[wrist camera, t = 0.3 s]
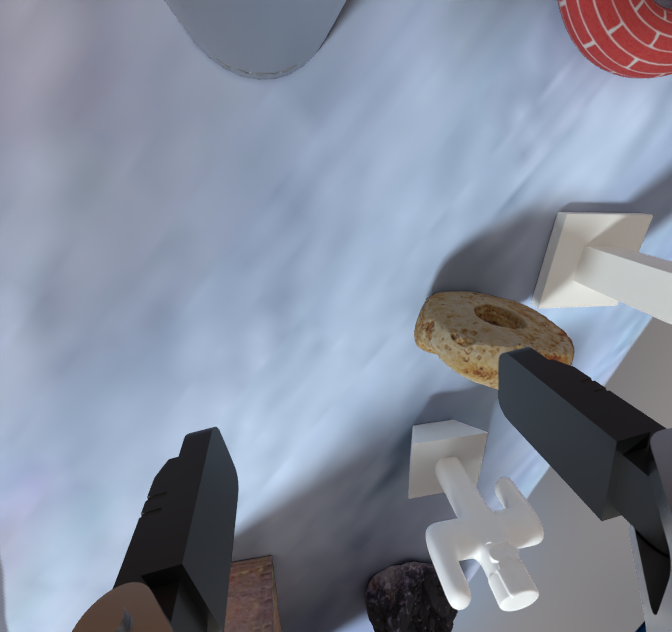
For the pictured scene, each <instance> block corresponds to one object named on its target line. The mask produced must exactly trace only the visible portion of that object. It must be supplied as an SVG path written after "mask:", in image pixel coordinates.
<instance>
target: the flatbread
mask: <svg viewBox="0 0 672 632" xmlns="http://www.w3.org/2000/svg"><path fill="white" fill-rule="evenodd" d="M414 337H415V343H416V345H417V346H418V347H419V348H421V349H423V350H424V351H426V352H429V353H433V354H437V355H438V356H439V358H440V359H441V360H442V361H444V362H445V363H446V365H447V366H449V367H450V368H451V369H453V370H454V371H455V372H457V373H458V374H460V375H462V376H464V377H465V378H467V379H469V380H471V381H473V382H476V383H479V384H482V385H485V386H488V387H491V388H494V389H497V390H498V361H499V356H500V355H501V354H502V353H505V352H509V351H513V350H517V349H521V348H524V347H531V348H533V349H534V350H536V351H537V352H538V353H540V354H541V355H543V356H544V357H546V358H547V359H548V360H551V359H554V360H557V361H559V362H562V363H565V364H567V365H570V366H571V364H572V361H573V356H574V346H573V344H572V341H571V339H570V338H569V337H568V336H567V334H566V333H565V331H564V330H562V329H560V328H559V327H558V326H556V325H555V324H554V323H553V322H552V321H550V320H548V319H547V318H546V317H545V316H543V315H542V314H540V313H538V312H537V311H535V310H533V309H532V308H530V307H528V306H526V305H523V304H520V303H518V302H516V301H513V300H508V299H504V298H499V297H495V296H492V295H487V294H482V293H478V292H467V291H455V292H440V293H436V294H434V295H432V296H431V297H429V298H427V299H426V302H425V303H424V305H423V307H422V309H421V311H420V313H419V316H418V318H417V321H416V325H415V331H414Z"/></svg>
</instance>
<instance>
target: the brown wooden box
mask: <svg viewBox="0 0 672 632" xmlns="http://www.w3.org/2000/svg"><path fill="white" fill-rule="evenodd" d="M224 632H281V625H280V617H279V609H278V601H277V593H276V585H275V577H274V569H273V561H272V556H267V557H261V558H255V559H249V560H243V561H238V562H232V563H231V569H230V579H229V589H228V598H227V608H226V618H225V628H224Z"/></svg>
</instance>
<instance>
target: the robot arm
mask: <svg viewBox="0 0 672 632" xmlns="http://www.w3.org/2000/svg"><path fill="white" fill-rule="evenodd" d="M164 1H165V2H166V3H167V5H168V6H169V8H170V9H171V11H172V12H173V13H174V15H175V16H176V17H177V19H178V20H179V21H180V23H181V24H182V26H183V27H184V28H185V30H186V31H187V33H188V34H189V35H190V37H191V38H192V40H193V41H194V42H195V43H196V44H197V45H198V47H199V48H200V49H201V50H202V51H203V52H204V53H205V54H206V55H207V56H208V57H209V58H210V59H212V60H213V61H215V62H216V63H217V64H219V65H220V66H222V67H223V68H224V69H226V70H229V71H231V72H233V73H235V74H238V75H240V76H243V77H248V78H253V79H258V80H261V79H276V78H279V77H282V76H285V75H289V74H291V73H293V72H294V71H296V70H298V69H299V68H301V67H302V66H304V65H305V64H306V63H307V62H308V61H309V60H310V59H311V58H312V57H313V56H314V55H315V54H316V53H317V51H318V50H319V48H320V47H321V45H322V43H323V42H324V40H325V39H326V37H327V35H328V33H329V31H330V29H331V28H332V26H333V24H334V22H335V21H336V19H337V17H338V15H339V13H340V11H341V10H342V8H343V6H344V4H345V2H346V0H164ZM498 399H499V404H500V407H501V409H502V411H503V413H504V415H505V417H506V418H507V419H508V420H509V421H510V423H511V424H512V425H513V426H514V427H515V428H516V429H517V430H518V431H519V432H520V433H521V434H522V436H523V437H524V438H525V439H526V440H527V441H528V442H529V443H530V444H531V445H532V446H533V447H534V448H535V450H536V451H537V452H538V453H539V454H540V455H541V456H542V457H543V458H544V459H545V460H546V461H547V463H548V464H549V465H550V466H551V467H552V468H553V469H554V470H555V471H556V472H557V473H558V474H559V475H560V477H561V478H562V479H563V480H564V481H565V482H566V483H567V484H568V485H569V486H570V487H571V488H572V489H573V490H574V492H575V493H576V494H577V495H578V496H579V497H580V498H581V499H582V500H583V501H584V503H585V504H586V505H587V506H588V507H589V508H590V509H591V510H592V511H593V512H594V513H595V514H596V515H597V517H598V518H599V519H600V520H601V521H604V520H607V519H610V518H614V517H617V516H620V515H622V516H623V517H624V518H625V519H626V520H627V521H628V522H629V523H630V528H629V537H630V542H631V548H632V553H633V558H634V563H635V569H636V574H637V579H638V585H639V590H640V594H641V600H642V605H643V610H644V616H645V622H646V632H672V428H669V429H666V428H665V427H663V426H662V425H660V424H659V423H657V422H656V421H654V420H653V419H651V418H650V417H648V416H647V415H645V414H644V413H642V412H641V411H639V410H638V409H636V408H635V407H633V406H632V405H630V404H629V403H627V402H626V401H624V400H623V399H621V398H620V397H618V396H617V395H615V394H614V393H612V392H611V391H607V390H606V388H605V387H603V386H602V385H600V384H599V383H597V382H596V381H592V380H591V378H590V377H588V376H587V375H585V374H584V373H582V372H581V371H579V370H578V369H576V368H575V367H573V366H570V365H567V364H565V363H562V362H559V361H557V360H554V359H551V360H548V359H547V358H546V357H544V356H543V355H541V354H540V353H538V352H537V351H536V350H534V349H533V348H531V347H524V348H521V349H517V350H513V351H509V352H505V353H502V354H501V355H500V356H499V361H498ZM147 498H148V500H147V501H146V502H145V504H144V507H143V510H142V512H141V515H142V516H141V518H139V520H138V523H137V526H136V528H135V531H134V534H133V536H132V539H131V542H130V544H129V547H128V550H127V553H126V555H125V558H124V561H123V563H122V566H121V569H120V571H119V574H118V577H117V579H116V582H115V584H114V587H113V589H112V590H111V591H109V592H107V593H106V594H105V595H103V596H102V597H101V598H99V599H98V600H97V601H96V602H95V603H94V604H93V605H92V606H91V607H90V608H89V609H88V610H87V611H86V612H85V613H84V615H83V616H82V617H81V618H80V620H79V621H78V623H77V624H76V626H75V627H74V629H73V630H72V632H224V628H225V618H226V608H227V598H228V589H229V579H230V569H231V559H232V550H233V540H234V530H235V520H236V510H237V501H238V477H237V472H236V469H235V466H234V464H233V461H232V459H231V456H230V454H229V452H228V449H227V447H226V445H225V442H224V440H223V437H222V435H221V433H220V431H219V429H218V428H217V427H212V428H209V429H205V430H201V431H197V432H193V433H189V434H187V435H186V436H185V438H184V441H183V444H182V447H181V450H180V454H179V457H176V458H172V459H169V460H168V461H167V462H166V464H165V465H164V466H163V467H162V469H161V470H160V471H159V473H158V474H157V475H156V476H155V478H154V480H153V483H152V486H151V488H150V491H149V494H148V496H147Z"/></svg>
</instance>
